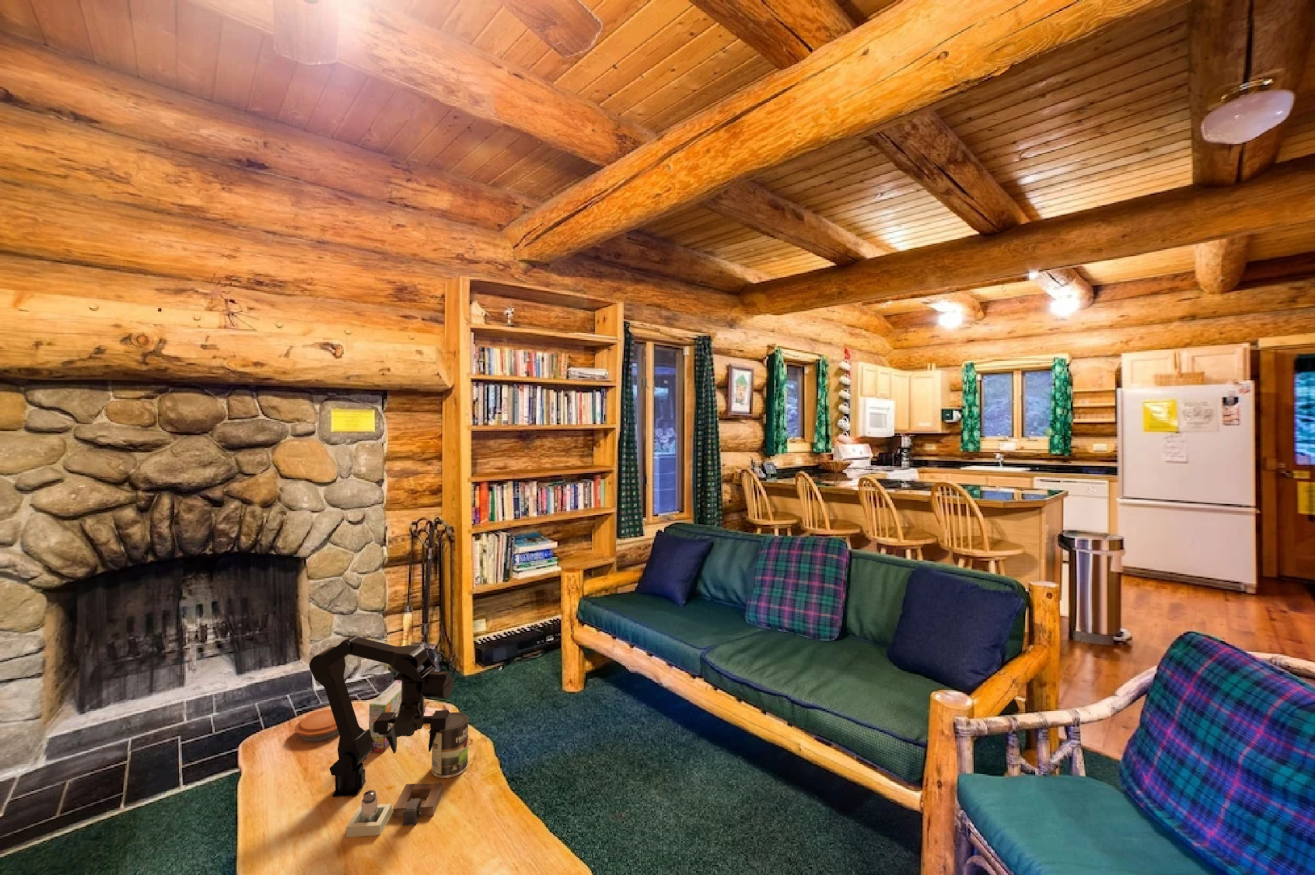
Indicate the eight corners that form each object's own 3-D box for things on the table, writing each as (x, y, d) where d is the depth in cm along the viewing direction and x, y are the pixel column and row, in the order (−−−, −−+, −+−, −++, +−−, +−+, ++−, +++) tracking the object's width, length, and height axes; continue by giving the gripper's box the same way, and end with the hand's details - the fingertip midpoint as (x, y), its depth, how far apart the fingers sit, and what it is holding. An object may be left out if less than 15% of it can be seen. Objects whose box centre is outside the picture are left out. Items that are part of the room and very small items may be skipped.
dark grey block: (402, 825, 144) (402, 812, 144) (409, 812, 149) (409, 799, 149) (415, 825, 144) (416, 811, 144) (421, 811, 149) (422, 798, 149)
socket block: (392, 818, 147) (393, 808, 147) (405, 793, 157) (405, 784, 157) (433, 816, 148) (433, 806, 148) (443, 791, 158) (443, 782, 158)
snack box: (385, 753, 175) (385, 705, 175) (367, 753, 175) (367, 704, 175) (415, 717, 197) (415, 674, 196) (399, 717, 197) (399, 674, 196)
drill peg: (359, 830, 142) (359, 799, 142) (364, 820, 146) (364, 789, 146) (374, 829, 143) (374, 798, 142) (379, 819, 146) (379, 789, 146)
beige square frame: (345, 837, 140) (346, 827, 140) (359, 815, 148) (359, 805, 148) (380, 835, 141) (380, 825, 141) (391, 813, 149) (391, 803, 149)
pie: (354, 717, 196) (354, 703, 196) (342, 742, 181) (342, 726, 181) (304, 723, 192) (304, 708, 192) (287, 749, 177) (287, 733, 177)
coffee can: (474, 760, 173) (475, 714, 172) (456, 780, 162) (456, 731, 162) (444, 755, 175) (444, 710, 174) (423, 775, 165) (424, 727, 164)
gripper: (364, 711, 146) (364, 771, 147) (440, 708, 148) (439, 768, 149) (381, 691, 157) (380, 747, 158) (451, 689, 159) (450, 744, 160)
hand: (412, 751), depth 156 cm, fingers open, 9 cm apart
